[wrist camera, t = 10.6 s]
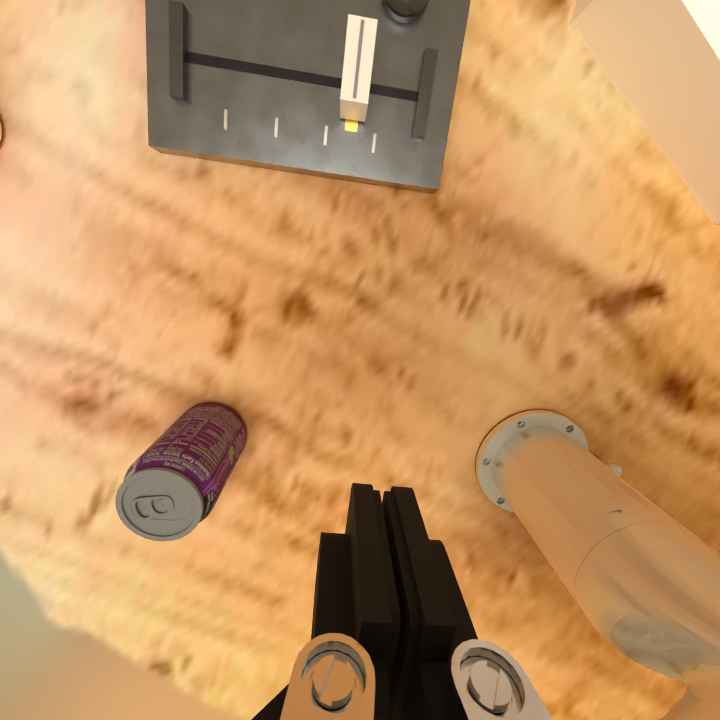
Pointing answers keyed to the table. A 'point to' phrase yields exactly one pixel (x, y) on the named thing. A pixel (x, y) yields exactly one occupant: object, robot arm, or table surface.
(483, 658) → the robot arm
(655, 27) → the tiered cake
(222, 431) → the beverage can
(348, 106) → the fader
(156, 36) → the console
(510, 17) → the table surface
